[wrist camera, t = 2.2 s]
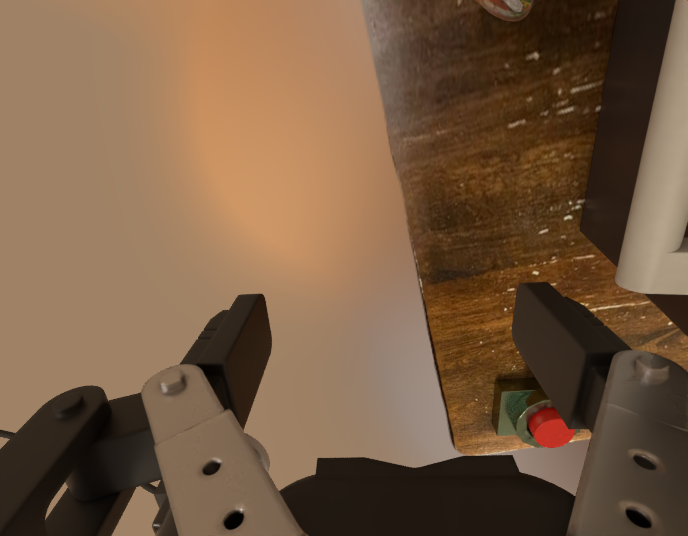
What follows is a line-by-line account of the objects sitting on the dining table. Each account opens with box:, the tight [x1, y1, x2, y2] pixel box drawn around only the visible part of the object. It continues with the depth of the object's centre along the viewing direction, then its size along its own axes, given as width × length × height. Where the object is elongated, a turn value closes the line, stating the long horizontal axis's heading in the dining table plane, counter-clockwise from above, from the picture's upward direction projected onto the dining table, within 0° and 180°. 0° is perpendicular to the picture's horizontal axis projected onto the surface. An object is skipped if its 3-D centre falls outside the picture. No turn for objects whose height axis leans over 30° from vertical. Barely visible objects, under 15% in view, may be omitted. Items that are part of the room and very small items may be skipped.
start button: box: [528, 408, 575, 448], centre depth 43 cm, size 4×4×2 cm
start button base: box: [492, 378, 580, 447], centre depth 45 cm, size 10×7×4 cm
